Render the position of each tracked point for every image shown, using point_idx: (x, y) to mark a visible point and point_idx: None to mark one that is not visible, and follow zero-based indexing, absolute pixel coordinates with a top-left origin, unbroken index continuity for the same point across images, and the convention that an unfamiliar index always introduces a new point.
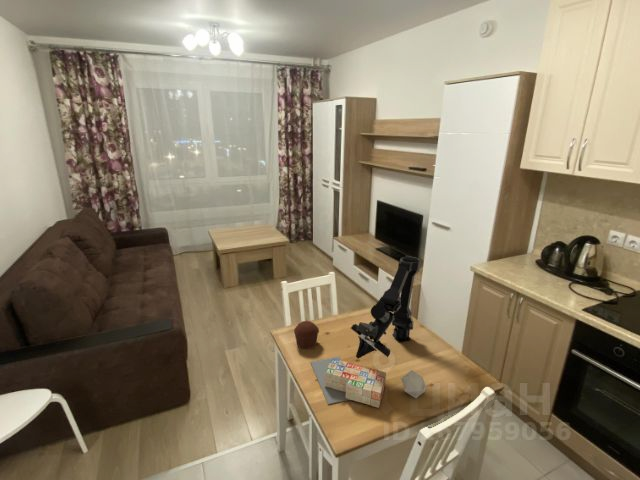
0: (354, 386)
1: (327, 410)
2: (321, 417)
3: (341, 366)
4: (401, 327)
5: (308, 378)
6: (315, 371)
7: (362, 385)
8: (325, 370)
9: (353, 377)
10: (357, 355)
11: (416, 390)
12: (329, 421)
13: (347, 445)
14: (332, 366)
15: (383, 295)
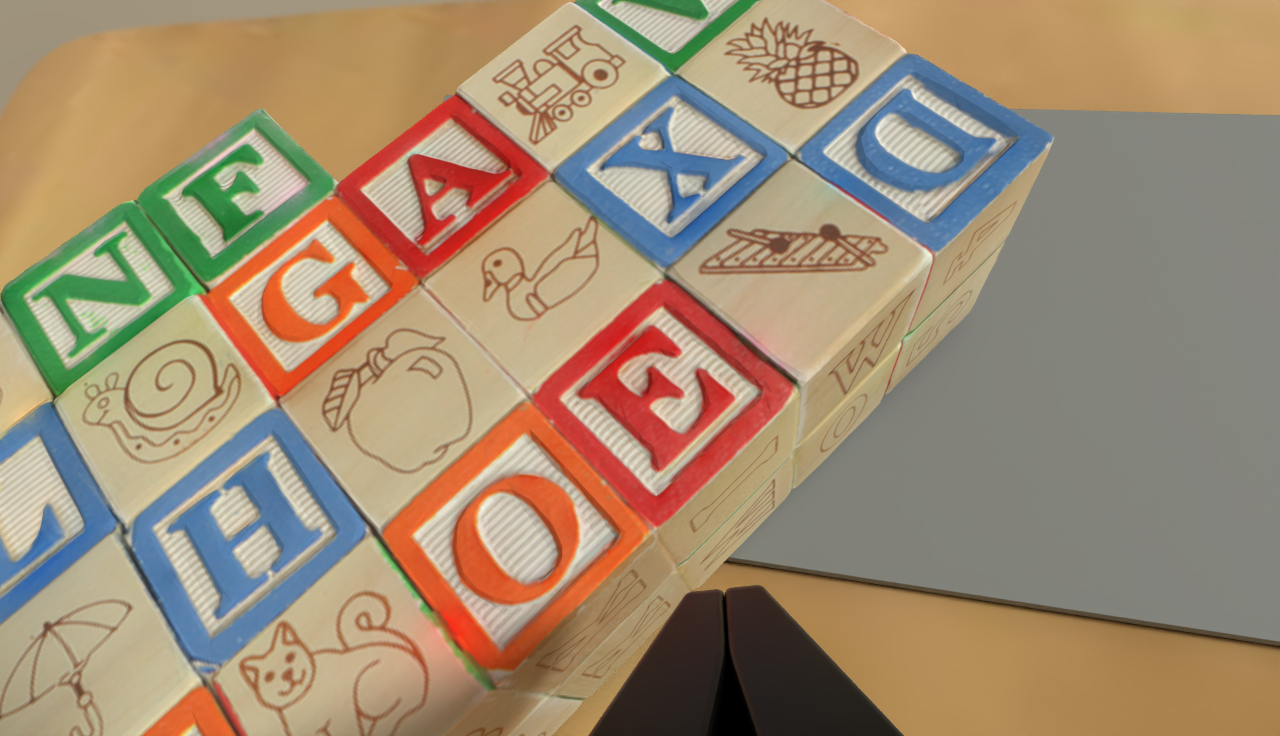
0: (134, 202)
1: (393, 81)
2: (360, 20)
3: (709, 205)
4: None
5: (948, 37)
6: (1056, 122)
7: (47, 327)
8: (1038, 246)
9: (318, 290)
10: (712, 613)
11: None
12: (280, 62)
13: (12, 107)
14: (775, 54)
15: None
